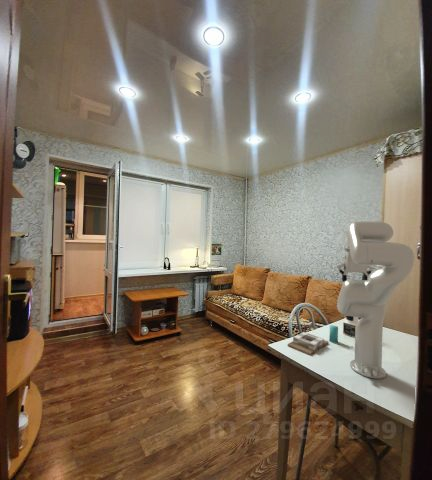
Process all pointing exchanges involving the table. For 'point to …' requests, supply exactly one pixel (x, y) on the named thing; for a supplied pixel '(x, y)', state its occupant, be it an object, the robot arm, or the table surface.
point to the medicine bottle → (350, 325)
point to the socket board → (304, 349)
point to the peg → (333, 334)
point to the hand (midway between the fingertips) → (354, 282)
